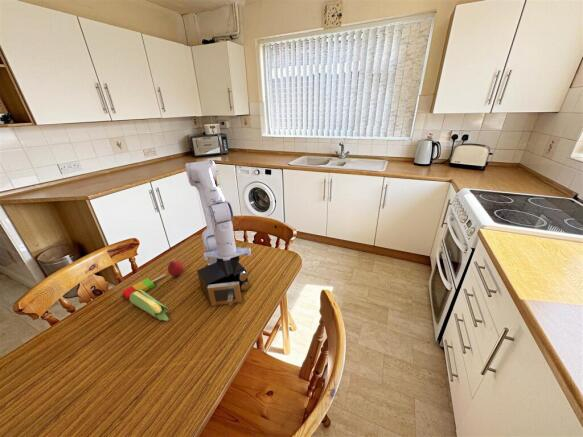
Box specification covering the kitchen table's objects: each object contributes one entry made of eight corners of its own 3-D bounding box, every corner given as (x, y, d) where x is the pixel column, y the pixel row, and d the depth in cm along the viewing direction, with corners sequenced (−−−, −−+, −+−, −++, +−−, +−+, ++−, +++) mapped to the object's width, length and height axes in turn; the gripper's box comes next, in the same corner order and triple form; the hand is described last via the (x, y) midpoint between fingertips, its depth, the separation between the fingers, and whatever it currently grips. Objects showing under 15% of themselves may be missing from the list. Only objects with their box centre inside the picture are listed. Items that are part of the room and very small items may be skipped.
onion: (179, 281, 93) (175, 264, 90) (167, 279, 94) (161, 263, 91) (188, 272, 98) (184, 255, 95) (176, 270, 99) (171, 254, 96)
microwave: (249, 288, 88) (247, 270, 85) (213, 306, 80) (209, 288, 77) (235, 272, 97) (232, 255, 94) (201, 287, 89) (196, 270, 86)
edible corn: (142, 294, 87) (138, 284, 85) (176, 315, 77) (172, 305, 75) (127, 303, 83) (123, 293, 81) (161, 327, 73) (157, 316, 72)
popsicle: (122, 295, 87) (120, 291, 86) (162, 273, 98) (161, 270, 97) (129, 301, 84) (127, 297, 83) (169, 278, 95) (168, 274, 94)
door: (240, 311, 78) (237, 293, 75) (209, 315, 77) (204, 297, 74) (241, 298, 83) (238, 281, 80) (212, 302, 82) (208, 284, 79)
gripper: (198, 248, 70) (207, 285, 76) (248, 244, 71) (252, 279, 77) (203, 237, 76) (210, 271, 82) (248, 233, 78) (253, 266, 84)
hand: (231, 274), depth 80 cm, fingers closed
